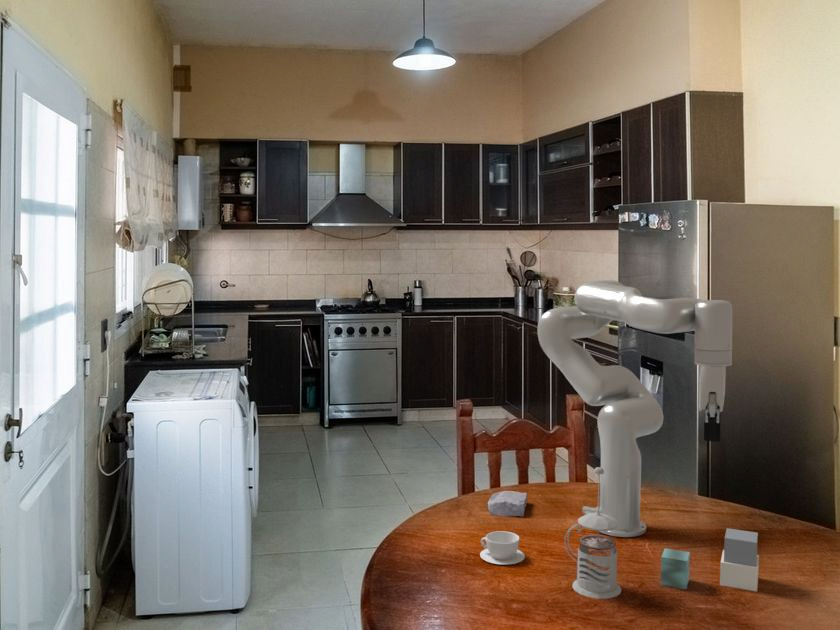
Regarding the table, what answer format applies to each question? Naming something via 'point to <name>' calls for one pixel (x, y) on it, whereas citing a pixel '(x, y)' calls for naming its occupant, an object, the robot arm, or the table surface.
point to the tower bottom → (739, 575)
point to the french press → (596, 578)
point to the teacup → (501, 548)
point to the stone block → (508, 503)
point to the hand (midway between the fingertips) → (712, 436)
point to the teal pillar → (675, 568)
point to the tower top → (740, 547)
